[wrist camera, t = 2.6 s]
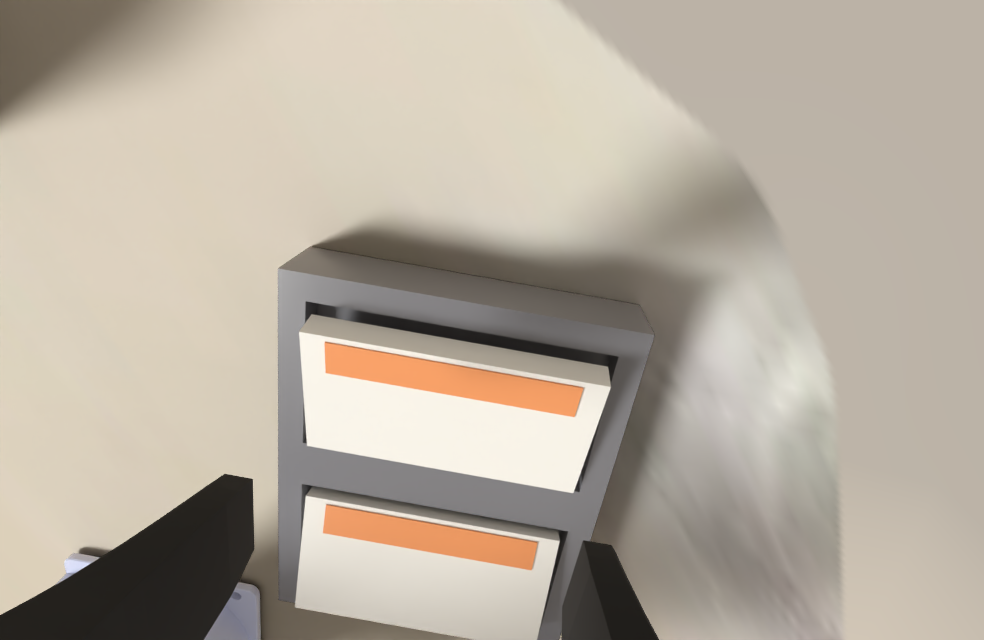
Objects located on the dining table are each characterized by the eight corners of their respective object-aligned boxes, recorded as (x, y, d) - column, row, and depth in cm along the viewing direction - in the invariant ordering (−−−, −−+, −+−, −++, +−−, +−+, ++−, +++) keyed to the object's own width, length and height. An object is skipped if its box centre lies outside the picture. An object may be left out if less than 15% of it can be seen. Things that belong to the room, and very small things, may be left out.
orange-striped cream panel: (304, 589, 22) (294, 608, 21) (315, 481, 21) (305, 496, 20) (533, 630, 22) (534, 652, 21) (557, 524, 21) (559, 542, 20)
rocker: (317, 425, 20) (306, 447, 19) (311, 314, 17) (298, 332, 16) (572, 471, 20) (573, 494, 19) (607, 366, 17) (611, 388, 16)
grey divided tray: (303, 551, 25) (278, 600, 23) (310, 246, 19) (277, 268, 17) (553, 596, 25) (555, 649, 23) (639, 304, 19) (654, 335, 17)
